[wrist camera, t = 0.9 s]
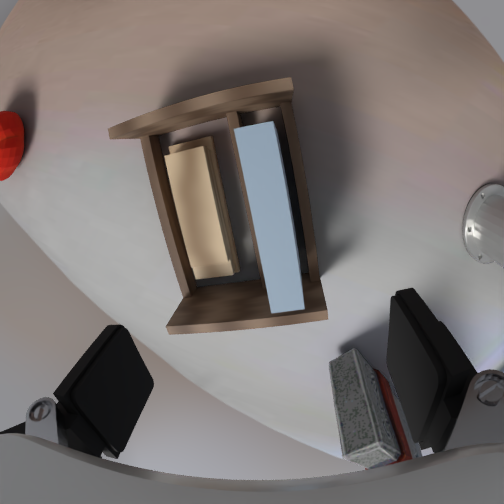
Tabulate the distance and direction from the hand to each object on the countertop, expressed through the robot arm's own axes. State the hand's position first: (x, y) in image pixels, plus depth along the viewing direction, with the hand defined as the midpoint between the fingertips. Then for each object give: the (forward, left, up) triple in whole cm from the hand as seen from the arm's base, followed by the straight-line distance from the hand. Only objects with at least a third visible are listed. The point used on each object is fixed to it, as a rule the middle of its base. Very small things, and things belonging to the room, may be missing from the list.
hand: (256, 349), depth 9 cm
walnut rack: (+5, 0, -29) cm, 29 cm away
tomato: (+44, -21, -29) cm, 57 cm away
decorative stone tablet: (-13, +38, -29) cm, 49 cm away
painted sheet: (0, 0, -29) cm, 29 cm away
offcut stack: (+9, 0, -29) cm, 30 cm away
